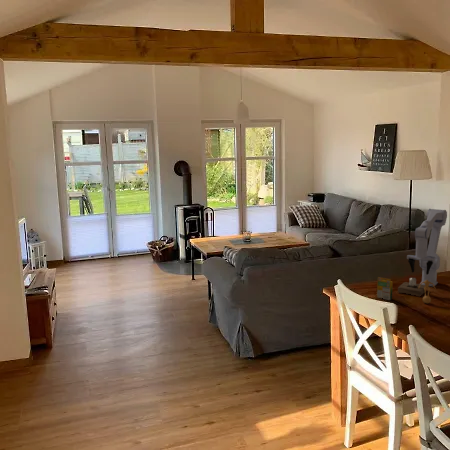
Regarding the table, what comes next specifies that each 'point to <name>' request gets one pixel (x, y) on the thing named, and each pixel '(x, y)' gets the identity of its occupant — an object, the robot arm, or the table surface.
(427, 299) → the figurine
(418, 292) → the hole block
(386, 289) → the crayon box
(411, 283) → the metal peg
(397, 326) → the table surface
